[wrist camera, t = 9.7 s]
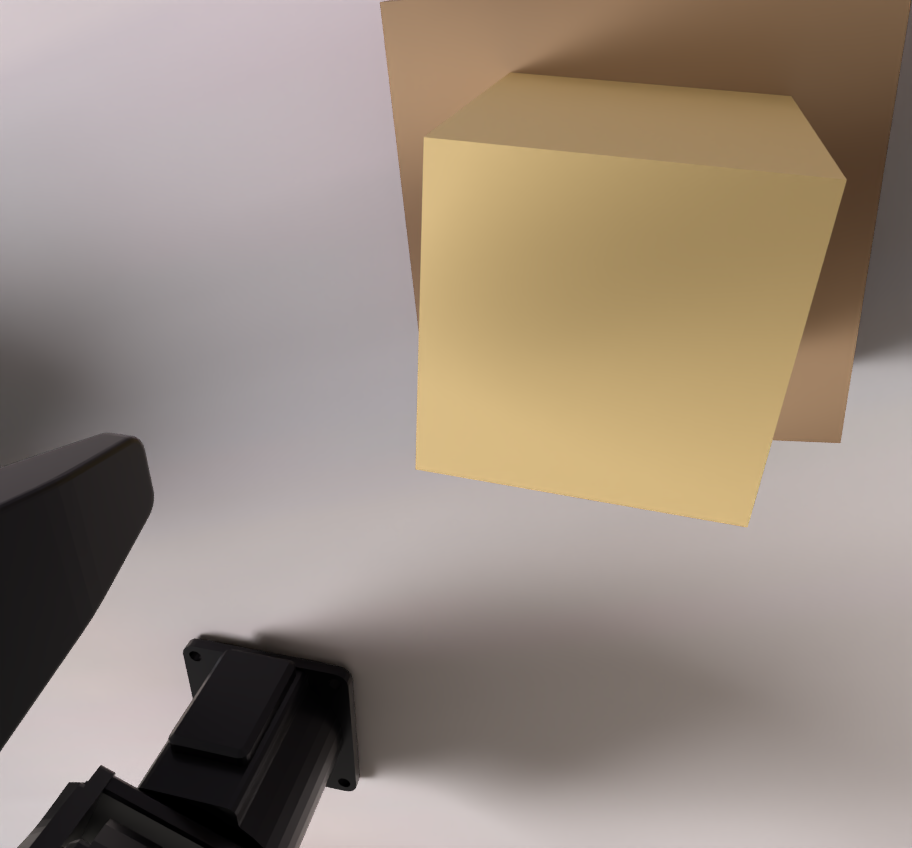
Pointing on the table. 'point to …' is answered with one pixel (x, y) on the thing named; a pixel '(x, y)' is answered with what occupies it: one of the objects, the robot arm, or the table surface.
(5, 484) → the robot arm
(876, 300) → the table surface
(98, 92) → the table surface
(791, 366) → the ochre block
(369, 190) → the table surface
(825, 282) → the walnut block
